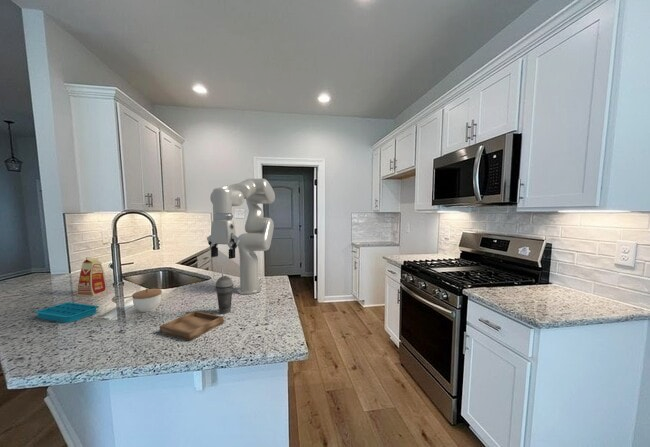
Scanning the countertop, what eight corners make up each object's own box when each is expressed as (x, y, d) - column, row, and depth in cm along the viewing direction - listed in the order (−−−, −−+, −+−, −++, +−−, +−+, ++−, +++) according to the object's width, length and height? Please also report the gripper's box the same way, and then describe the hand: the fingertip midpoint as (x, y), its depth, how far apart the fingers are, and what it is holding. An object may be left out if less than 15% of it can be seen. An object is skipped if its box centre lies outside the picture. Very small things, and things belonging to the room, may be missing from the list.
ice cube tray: (68, 308, 115) (67, 302, 115) (101, 313, 110) (100, 306, 110) (33, 319, 104) (32, 312, 103) (67, 324, 98) (67, 317, 98)
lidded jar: (162, 310, 111) (161, 289, 110) (131, 316, 105) (130, 294, 105) (162, 303, 120) (161, 283, 119) (134, 308, 114) (133, 287, 114)
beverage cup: (227, 315, 105) (226, 268, 104) (212, 314, 107) (211, 267, 106) (237, 309, 112) (236, 264, 111) (222, 308, 114) (221, 264, 113)
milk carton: (93, 296, 130) (91, 257, 129) (75, 296, 130) (73, 257, 129) (108, 290, 139) (107, 254, 138) (92, 290, 139) (90, 254, 138)
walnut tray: (195, 316, 105) (195, 310, 105) (223, 322, 99) (223, 316, 99) (160, 332, 91) (159, 326, 91) (189, 341, 85) (189, 333, 85)
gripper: (244, 217, 107) (245, 257, 108) (214, 217, 114) (214, 255, 115) (232, 217, 101) (232, 260, 101) (200, 217, 107) (201, 257, 108)
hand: (223, 257), depth 108 cm, fingers open, 9 cm apart
